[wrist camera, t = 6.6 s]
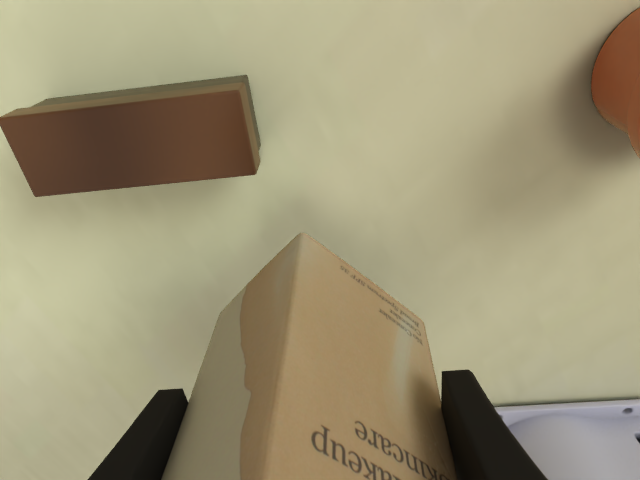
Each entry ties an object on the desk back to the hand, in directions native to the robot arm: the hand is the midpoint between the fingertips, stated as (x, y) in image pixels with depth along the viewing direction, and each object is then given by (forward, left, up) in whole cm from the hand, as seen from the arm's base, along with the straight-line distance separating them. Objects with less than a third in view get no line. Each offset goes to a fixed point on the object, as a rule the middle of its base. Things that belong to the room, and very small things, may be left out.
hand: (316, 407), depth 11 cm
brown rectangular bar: (+6, -5, -10) cm, 13 cm away
